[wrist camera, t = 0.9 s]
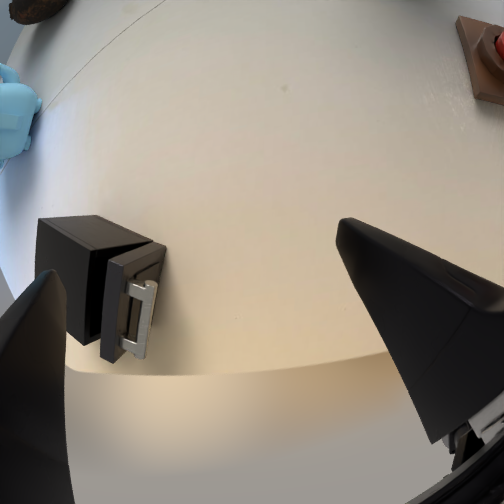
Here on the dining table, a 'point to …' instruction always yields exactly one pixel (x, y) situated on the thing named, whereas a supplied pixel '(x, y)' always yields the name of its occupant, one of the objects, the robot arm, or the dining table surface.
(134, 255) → the oven door
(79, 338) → the oven
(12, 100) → the teapot
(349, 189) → the dining table surface
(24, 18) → the glass bottle
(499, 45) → the button
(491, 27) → the control block
